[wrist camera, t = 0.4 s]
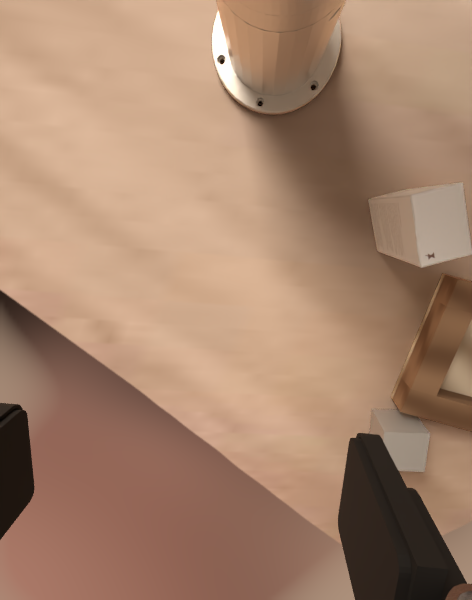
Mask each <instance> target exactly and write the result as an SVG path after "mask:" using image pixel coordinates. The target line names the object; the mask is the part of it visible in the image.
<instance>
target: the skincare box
mask: <svg viewBox="0 0 472 600" xmlns="http://www.w3.org/2000/svg"><path fill="white" fill-rule="evenodd" d="M368 202H369V208H370V214H371V220H372V225H373V231H374V236H375V242H376V247H377V251H378V252H380V253H383V254H386V255H388V256H391V257H394V258H396V259H399V260H402V261H404V262H407V263H410V264H413V265H415V266H418V267H420V268H424V267H427V266H431V265H435V264H439V263H443V262H446V261H450V260H454V259H458V258H462V257H466V256H470V255H472V246H471V238H470V230H469V223H468V216H467V209H466V201H465V194H464V184H463V182H457V183H450V184H443V185H435V186H428V187H420V188H412V189H405V190H401V191H397V192H393V193H389V194H385V195H381V196H377V197H373V198H370V199H368Z"/></svg>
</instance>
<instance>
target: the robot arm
mask: <svg viewBox="0 0 472 600" xmlns="http://www.w3.org/2000/svg"><path fill="white" fill-rule="evenodd" d="M216 2H217V7H218V11H217V15H216V18H215V21H214V24H213V32H212V55H213V60H214V65H215V68H216V71H217V74H218V76H219V78H220V80H221V82H222V84H223V86H224V87H225V89H226V90H227V91H228V93H229V94H230V95H231V96H232V97H233V98H234V99H235V100H236V101H237V102H238V103H240V104H241V105H243V106H244V107H246V108H248V109H250V110H252V111H255V112H258V113H262V114H271V115H275V114H284V113H288V112H291V111H294V110H297V109H299V108H300V107H302V106H304V105H306V104H307V103H309V102H310V101H311V100H312V99H314V98H315V97H316V96H317V95H318V94H319V93H320V91H321V90H322V89H323V88H324V87H325V85H326V84H327V82H328V81H329V79H330V77H331V75H332V73H333V71H334V69H335V67H336V64H337V61H338V57H339V54H340V47H341V39H342V37H341V23H340V18H339V16H340V14H341V11H342V9H343V6H344V4H345V2H346V0H216ZM221 60H224V61H225V63H224V64H223V65H221V64H220V61H221ZM311 86H315V90H312V89H311ZM259 102H262V103H263V105H262V106H258V103H259ZM33 493H34V479H33V468H32V458H31V448H30V439H29V428H28V418H27V413H26V411H24V410H22V407H21V406H20V405H18V404H6V403H0V539H1V538H2V537H3V536H4V534H5V533H6V532H7V530H8V529H9V528H10V527H11V525H12V524H13V523H14V521H15V520H16V519H17V517H18V516H19V515H20V514H21V512H22V511H23V510H24V508H25V507H26V506H27V505H28V503H29V502H30V500H31V498H32V496H33ZM338 527H339V533H340V537H341V542H342V546H343V550H344V554H345V559H346V563H347V567H348V571H349V575H350V580H351V584H352V588H353V592H354V597H355V600H472V584H467V582H466V581H465V579H464V577H463V575H462V573H461V571H460V570H459V568H458V566H457V564H456V562H455V560H454V558H453V557H452V555H451V553H450V551H449V549H448V547H447V545H446V544H445V542H444V540H443V538H442V536H441V534H440V532H439V531H438V529H437V527H436V525H435V523H434V521H433V520H432V518H431V516H430V514H429V512H428V510H427V508H426V507H425V505H424V503H423V501H422V499H421V497H420V495H419V494H418V493H417V491H416V490H415V489H413V488H407V487H406V485H405V483H404V481H403V479H402V477H401V475H400V473H399V471H398V469H397V467H396V465H395V463H394V461H393V459H392V458H391V456H390V454H389V452H388V450H387V448H386V446H385V444H384V442H383V440H382V438H381V436H380V435H377V434H365V433H358V434H357V436H356V438H350V441H349V447H348V454H347V461H346V468H345V474H344V481H343V488H342V495H341V502H340V508H339V515H338Z"/></svg>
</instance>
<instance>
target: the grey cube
mask: <svg viewBox="0 0 472 600" xmlns="http://www.w3.org/2000/svg"><path fill="white" fill-rule="evenodd" d="M369 434H377V435H380V436H381V438H382V440H383V442H384V444H385V446H386V448H387V450H388V452H389V454H390V456H391V458H392V459H393V461H394V463H395V465H396V467H397V469H398V471H412V472H425V466H426V459H427V452H428V446H429V439H430V433H429V431H428V430H427V429H426V427H425V426H424V424H423V423H422V422H421V420H420V419H419V418H418V417H417V416H413V415H410V414H406V413H403V412H400V410H395V409H372V412H371V421H370V431H369Z"/></svg>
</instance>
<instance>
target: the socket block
mask: <svg viewBox="0 0 472 600" xmlns="http://www.w3.org/2000/svg"><path fill="white" fill-rule="evenodd" d="M391 398H392V400H393V401H394V403H395V404H396V406H397V407H398V409H399V410H400V412H403V413H406V414H410V415H413V416H417V417H421V418H424V419H428V420H431V421H435V422H439V423H442V424H446V425H450V426H453V427H457V428H460V429H464V430H468V431H471V432H472V281H469V280H465V279H461V278H458V277H454V276H451V275H447V274H443V273H442V276H441V278H440V281H439V283H438V285H437V288H436V290H435V292H434V295H433V297H432V299H431V302H430V304H429V307H428V309H427V311H426V314H425V316H424V318H423V321H422V323H421V326H420V328H419V330H418V333H417V335H416V337H415V340H414V342H413V345H412V347H411V349H410V352H409V354H408V356H407V359H406V361H405V364H404V366H403V368H402V371H401V373H400V375H399V378H398V380H397V383H396V385H395V387H394V390H393V392H392V394H391Z"/></svg>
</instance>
